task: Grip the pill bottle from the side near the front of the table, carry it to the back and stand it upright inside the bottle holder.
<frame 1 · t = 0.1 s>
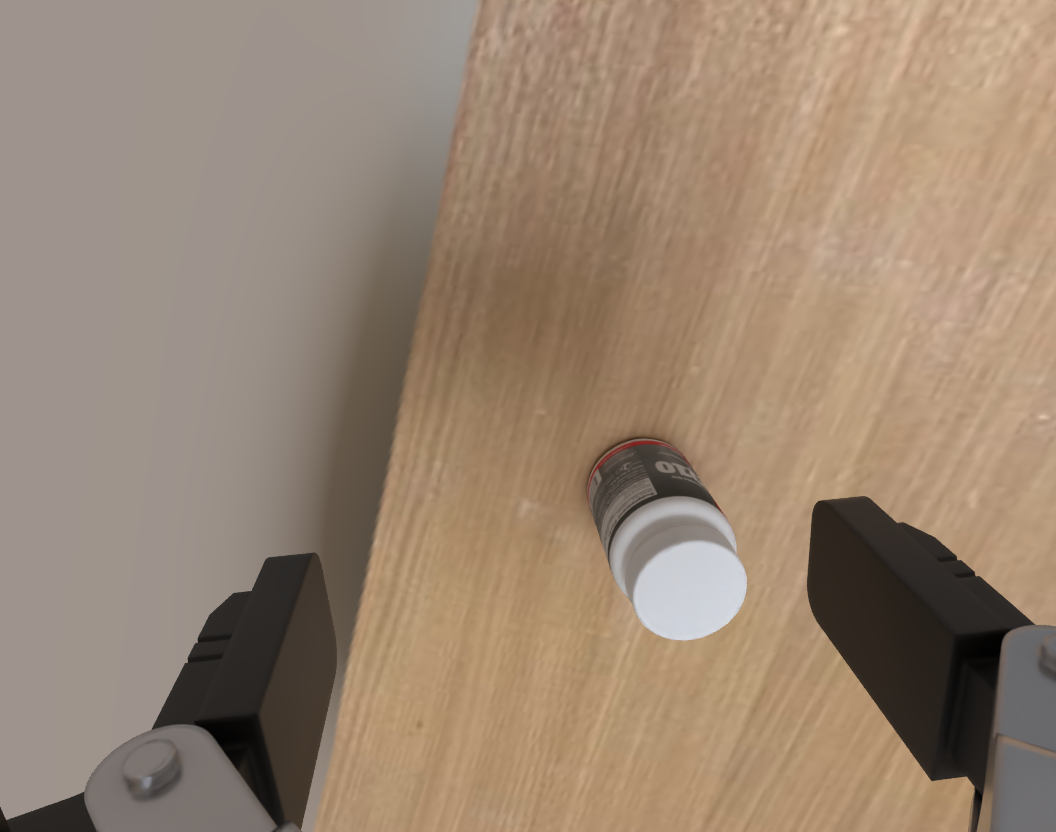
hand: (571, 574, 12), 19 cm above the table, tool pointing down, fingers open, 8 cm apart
pill bottle: (637, 483, 34), on the table
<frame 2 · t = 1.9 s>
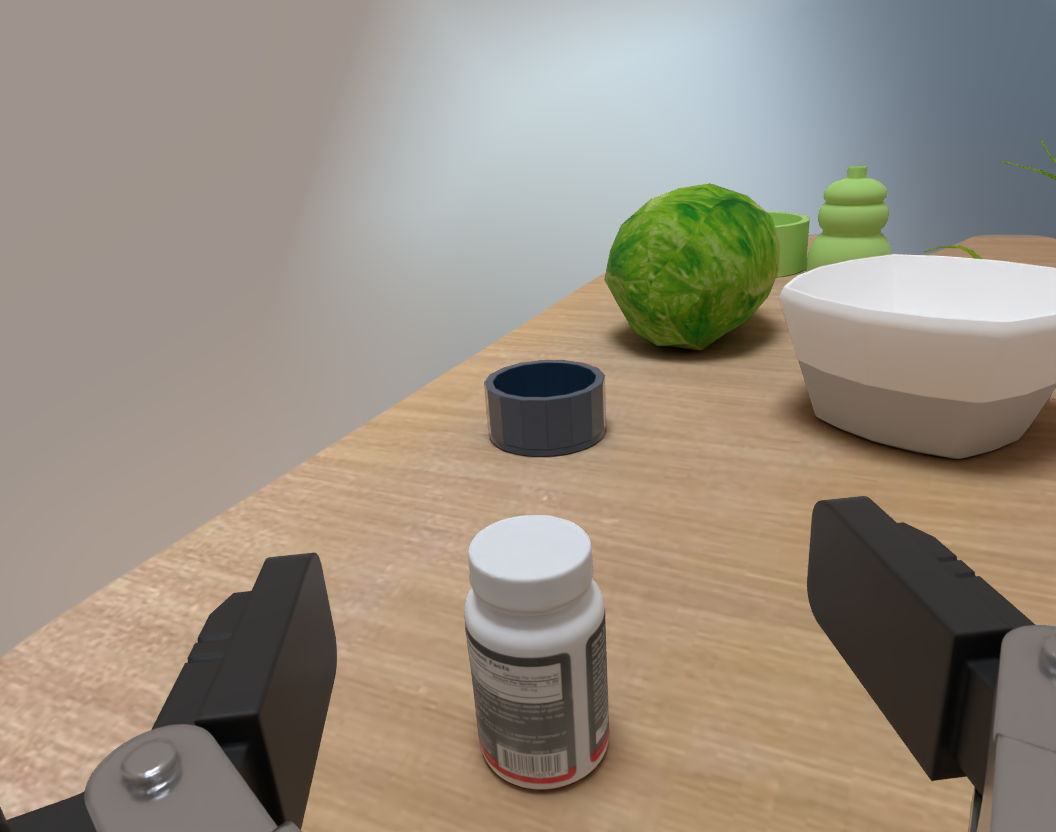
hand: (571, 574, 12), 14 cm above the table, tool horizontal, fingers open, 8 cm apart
pill bottle: (544, 744, 28), on the table
food container: (785, 271, 97), on the table
lettuce: (698, 331, 75), on the table
bottle holder: (547, 431, 54), on the table
bowl: (919, 420, 52), on the table
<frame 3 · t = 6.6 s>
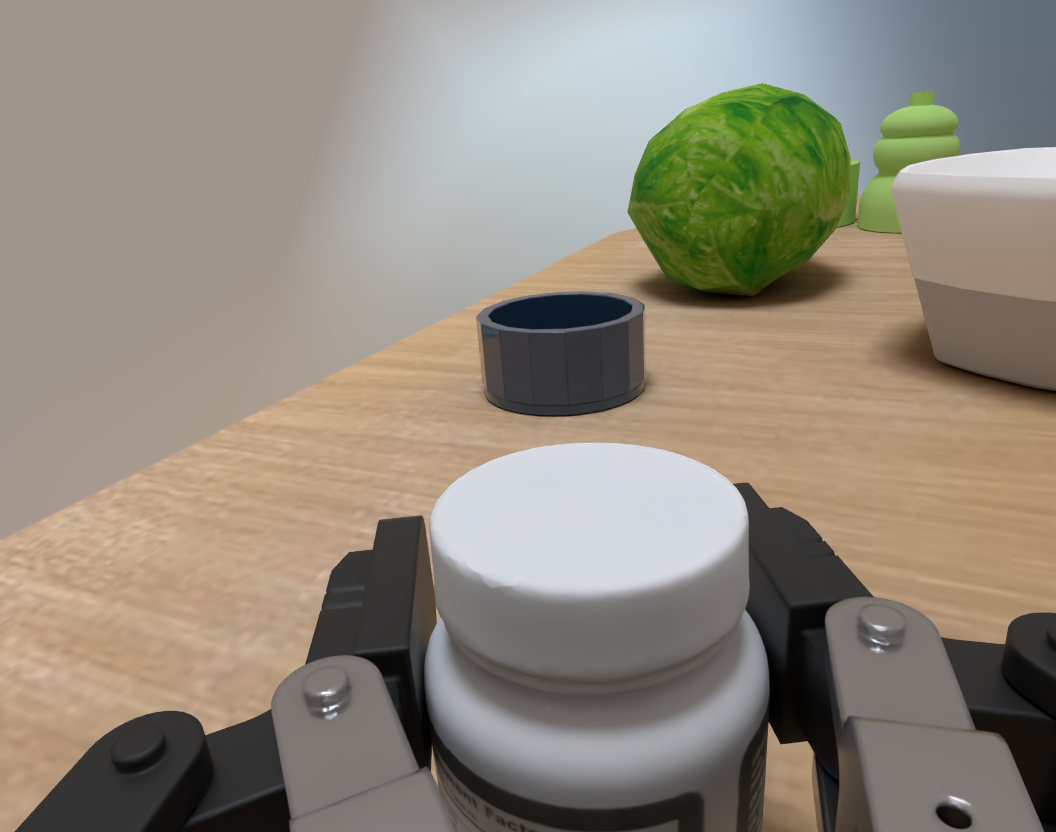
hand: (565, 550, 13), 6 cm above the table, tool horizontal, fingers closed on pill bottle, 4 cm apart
food container: (831, 225, 83), on the table
lettuce: (743, 279, 61), on the table
bottle holder: (564, 386, 39), on the table
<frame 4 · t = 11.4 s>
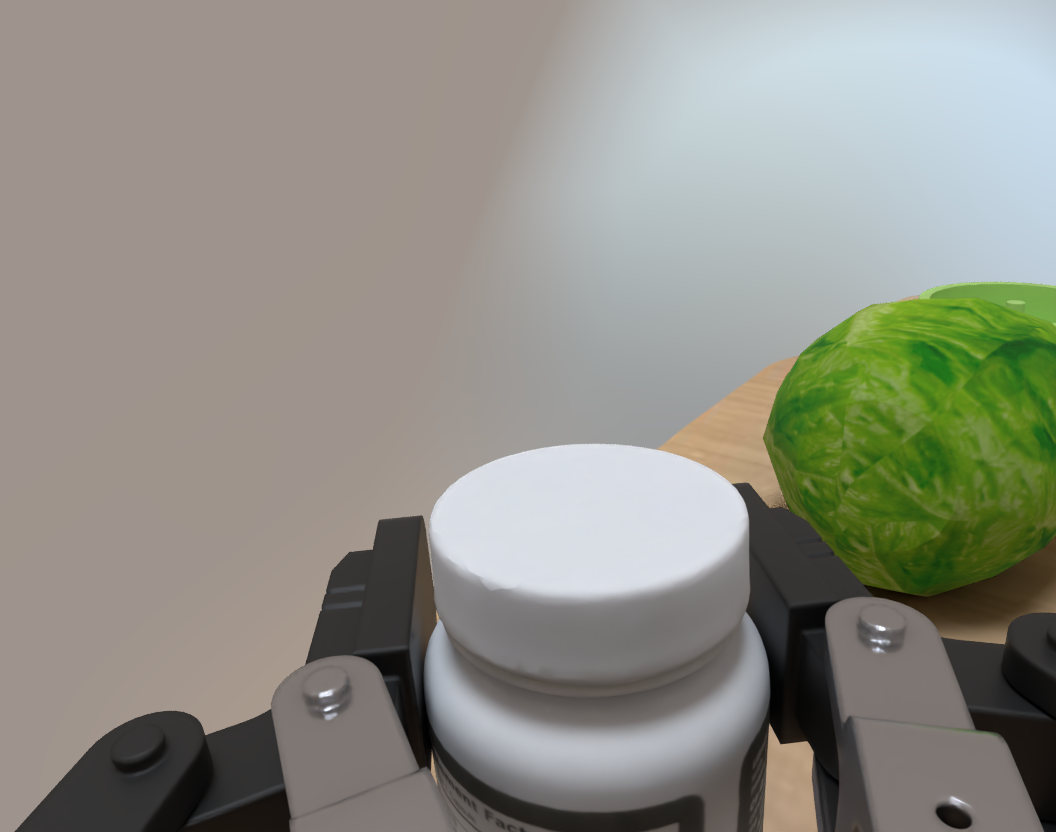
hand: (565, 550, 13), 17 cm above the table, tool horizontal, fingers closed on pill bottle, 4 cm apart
lettuce: (922, 528, 44), on the table
when the fingers open (7 cm above the table, at t = 16.4 s): pill bottle stays where it is, resting on bottle holder.
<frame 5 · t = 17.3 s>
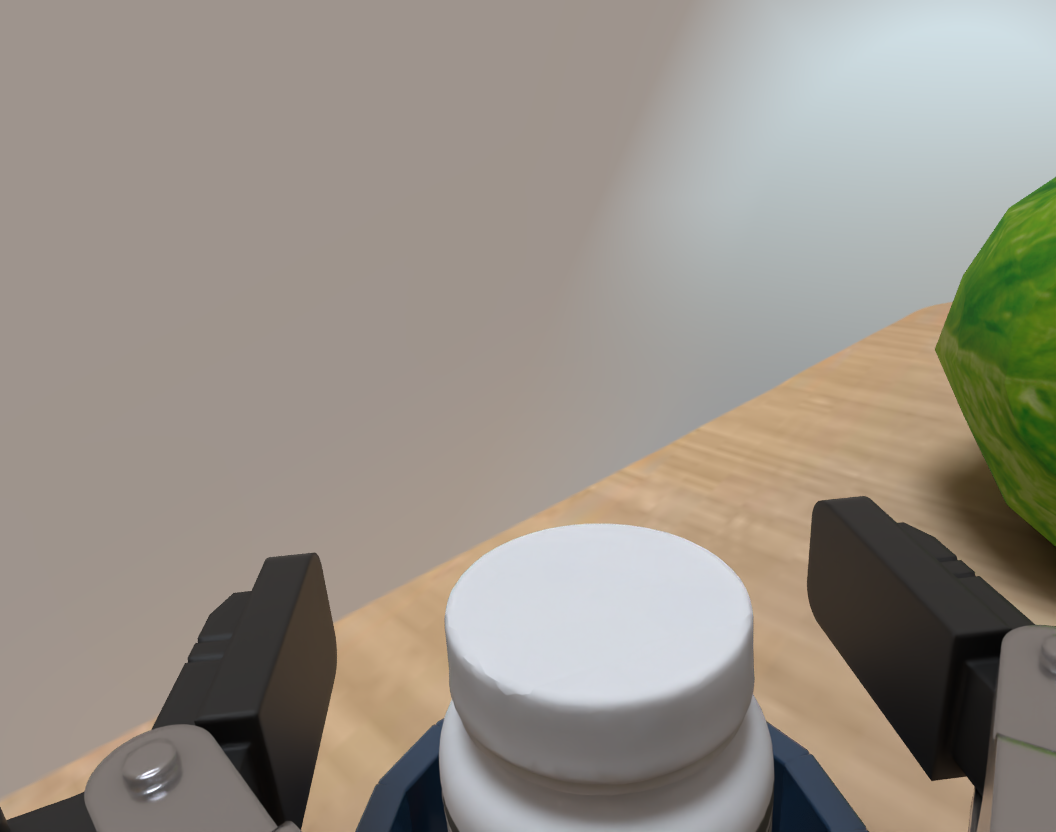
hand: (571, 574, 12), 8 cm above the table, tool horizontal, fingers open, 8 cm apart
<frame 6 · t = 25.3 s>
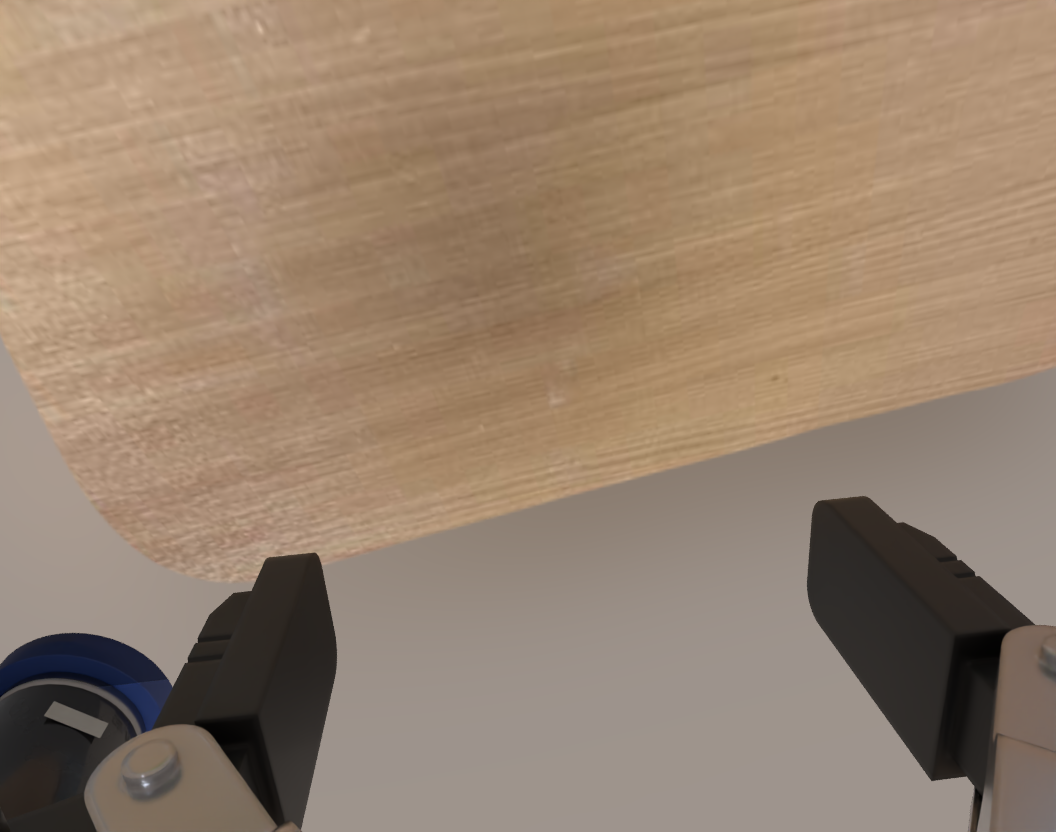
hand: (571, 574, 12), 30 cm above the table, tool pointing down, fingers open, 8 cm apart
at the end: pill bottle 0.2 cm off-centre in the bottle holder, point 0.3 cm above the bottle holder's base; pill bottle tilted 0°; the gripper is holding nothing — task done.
